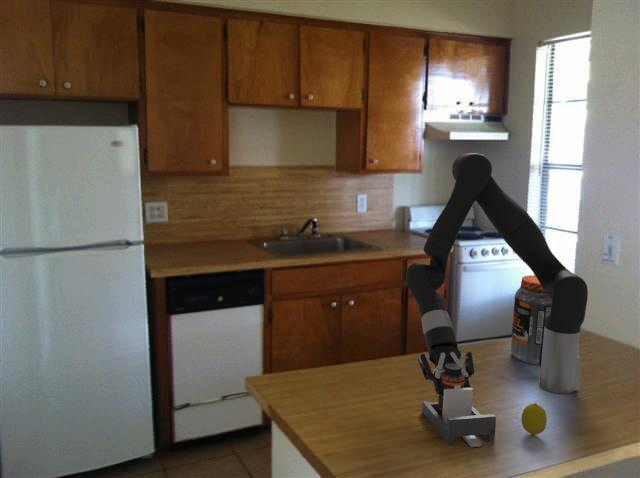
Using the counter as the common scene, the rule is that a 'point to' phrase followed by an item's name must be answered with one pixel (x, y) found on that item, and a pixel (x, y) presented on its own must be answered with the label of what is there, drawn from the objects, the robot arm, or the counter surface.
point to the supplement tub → (529, 320)
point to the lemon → (534, 419)
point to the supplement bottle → (451, 380)
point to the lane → (460, 423)
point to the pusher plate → (459, 408)
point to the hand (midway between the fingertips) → (454, 394)
